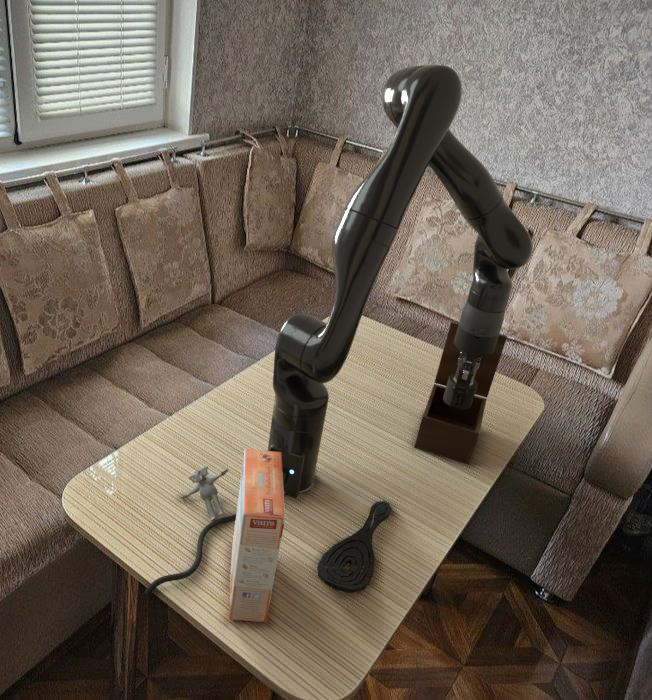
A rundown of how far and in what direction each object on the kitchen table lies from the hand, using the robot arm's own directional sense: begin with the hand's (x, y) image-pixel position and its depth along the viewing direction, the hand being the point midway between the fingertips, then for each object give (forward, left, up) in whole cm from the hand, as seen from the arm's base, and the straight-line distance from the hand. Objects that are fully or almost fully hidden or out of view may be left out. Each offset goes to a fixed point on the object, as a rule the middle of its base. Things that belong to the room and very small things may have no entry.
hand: (457, 399), depth 135 cm
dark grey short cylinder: (0, 0, -1) cm, 1 cm away
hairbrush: (-38, +8, -11) cm, 40 cm away
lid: (+8, 0, +5) cm, 9 cm away
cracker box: (-54, +22, -11) cm, 59 cm away
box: (+1, 0, -11) cm, 11 cm away
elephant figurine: (-41, +35, -11) cm, 55 cm away
